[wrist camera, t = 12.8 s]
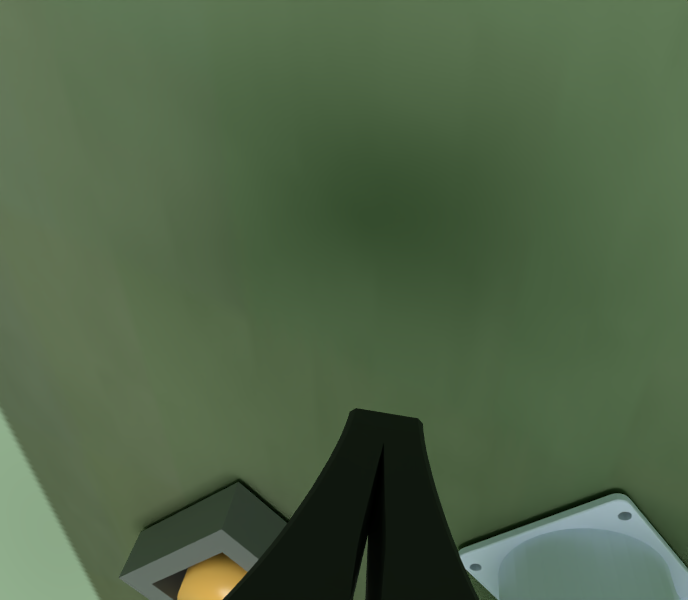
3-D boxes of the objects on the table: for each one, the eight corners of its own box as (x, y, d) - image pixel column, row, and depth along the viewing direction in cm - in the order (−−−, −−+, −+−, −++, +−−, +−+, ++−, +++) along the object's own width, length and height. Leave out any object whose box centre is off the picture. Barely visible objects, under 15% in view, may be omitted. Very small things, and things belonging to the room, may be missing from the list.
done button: (292, 574, 30) (282, 619, 29) (235, 597, 32) (222, 641, 30) (233, 526, 29) (219, 570, 27) (177, 553, 31) (159, 595, 29)
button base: (339, 568, 31) (331, 617, 29) (239, 606, 34) (225, 653, 32) (238, 481, 28) (221, 529, 26) (140, 531, 32) (118, 577, 29)
